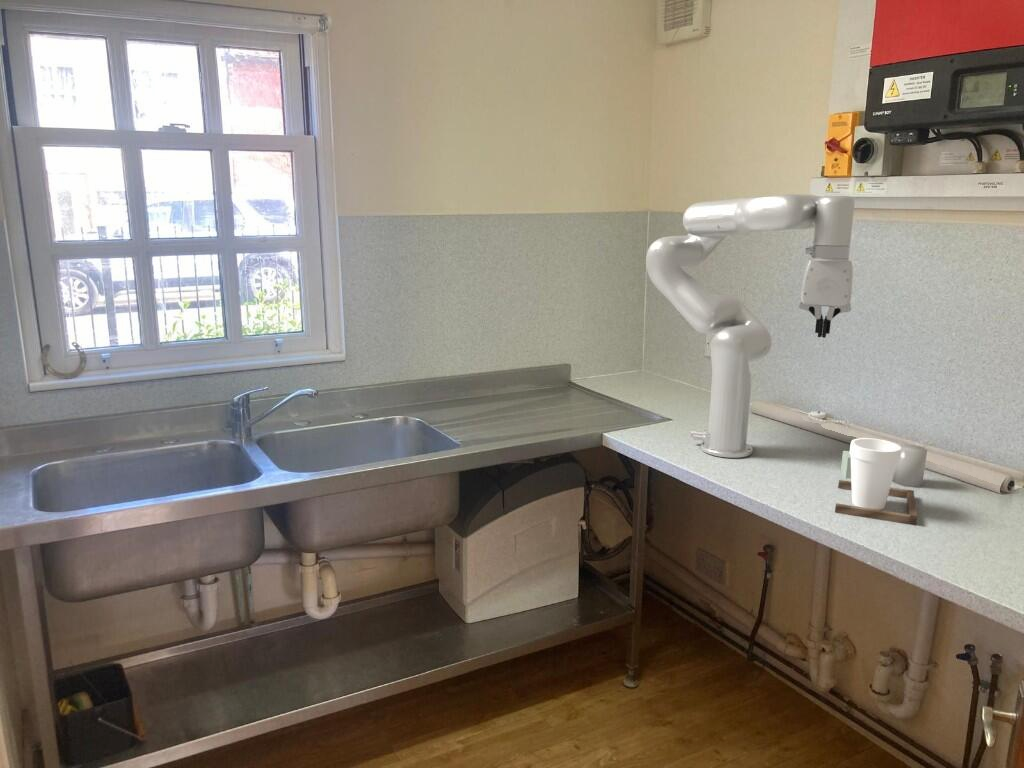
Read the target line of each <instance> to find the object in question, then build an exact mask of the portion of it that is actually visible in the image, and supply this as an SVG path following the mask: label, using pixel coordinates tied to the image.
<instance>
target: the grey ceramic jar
mask: <svg viewBox="0 0 1024 768" xmlns="http://www.w3.org/2000/svg"><path fill="white" fill-rule="evenodd" d="M898 445H899V446H900V447H901V452H900V459H899V461H898V462H897V466H896V469H895V473H894V476H893V480H892V483H893V482H894V483H895V484H897V485H899V486H903V487H908V488H921V487H922V486H923V482H924V475H925V469H926V468H925V467H926V461H927V455H928V453H927V452H928V450H927V448H924V447H922V446H919V445H916V444H915V445H914V444H898Z"/></svg>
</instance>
